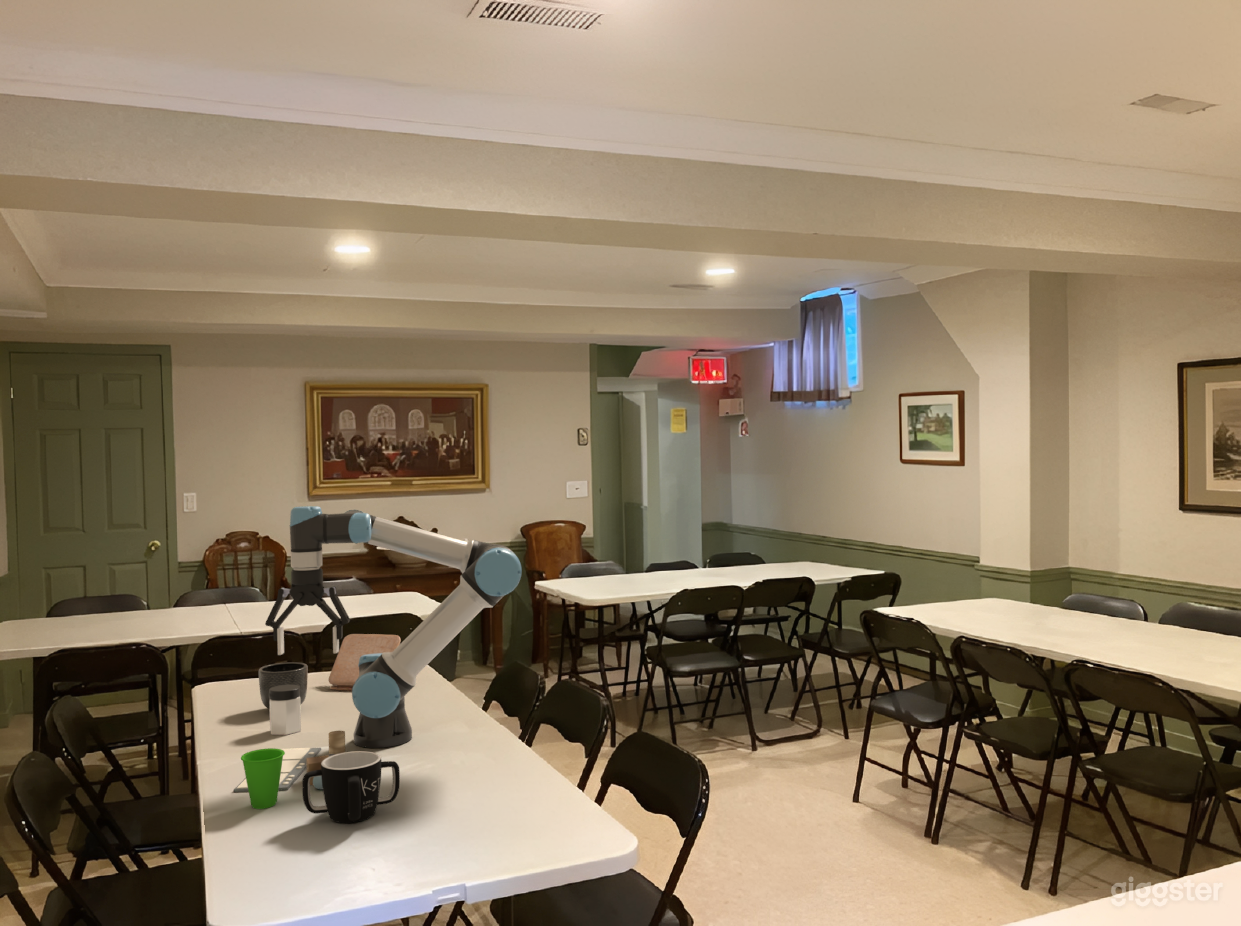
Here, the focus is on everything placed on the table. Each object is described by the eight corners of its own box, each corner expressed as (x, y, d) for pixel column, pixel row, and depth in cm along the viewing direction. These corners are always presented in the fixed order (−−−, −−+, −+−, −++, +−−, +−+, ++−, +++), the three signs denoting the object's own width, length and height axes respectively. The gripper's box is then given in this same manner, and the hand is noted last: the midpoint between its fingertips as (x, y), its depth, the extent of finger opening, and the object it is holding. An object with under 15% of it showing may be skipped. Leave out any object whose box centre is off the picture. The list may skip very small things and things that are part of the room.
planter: (318, 707, 292) (317, 664, 292) (280, 718, 280) (279, 674, 280) (288, 701, 299) (287, 660, 299) (249, 712, 288) (248, 669, 287)
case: (325, 691, 313) (325, 642, 313) (354, 676, 334) (353, 630, 334) (385, 693, 310) (384, 643, 309) (410, 678, 330) (409, 631, 330)
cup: (244, 815, 204) (243, 763, 204) (239, 802, 212) (238, 752, 212) (288, 807, 208) (287, 756, 208) (282, 794, 216) (281, 745, 216)
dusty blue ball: (331, 785, 221) (330, 770, 221) (327, 791, 218) (326, 775, 218) (315, 786, 221) (314, 770, 221) (311, 791, 218) (310, 775, 217)
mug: (349, 837, 191) (348, 776, 191) (295, 822, 199) (294, 764, 199) (408, 810, 205) (407, 754, 205) (355, 797, 213) (354, 743, 213)
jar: (268, 728, 270) (268, 685, 270) (299, 725, 273) (298, 682, 273) (270, 737, 261) (269, 693, 261) (302, 733, 265) (301, 689, 264)
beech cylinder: (347, 753, 245) (346, 730, 245) (343, 758, 241) (342, 734, 241) (331, 754, 245) (330, 730, 245) (327, 759, 241) (326, 735, 241)
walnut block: (328, 775, 229) (328, 754, 229) (331, 782, 224) (330, 760, 224) (306, 779, 227) (306, 757, 227) (308, 785, 222) (308, 763, 222)
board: (321, 749, 249) (321, 746, 249) (287, 789, 219) (287, 786, 219) (273, 751, 248) (273, 748, 248) (233, 791, 218) (233, 788, 218)
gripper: (360, 565, 245) (362, 648, 245) (260, 567, 244) (262, 651, 244) (354, 568, 237) (355, 654, 238) (251, 571, 236) (252, 657, 236)
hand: (308, 653), depth 241 cm, fingers open, 13 cm apart
